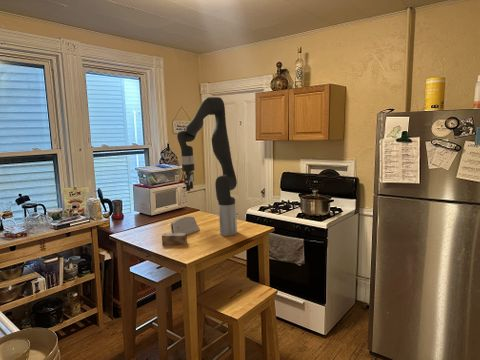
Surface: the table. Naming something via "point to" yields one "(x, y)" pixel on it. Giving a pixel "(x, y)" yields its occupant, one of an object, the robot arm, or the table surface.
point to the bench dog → (174, 239)
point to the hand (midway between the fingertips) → (189, 189)
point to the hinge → (184, 225)
